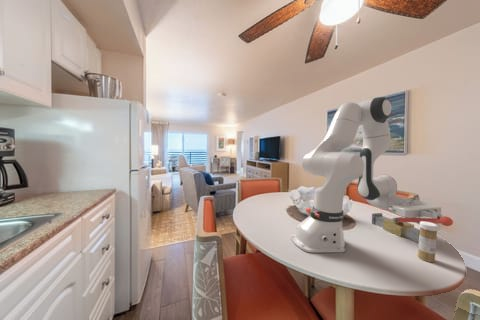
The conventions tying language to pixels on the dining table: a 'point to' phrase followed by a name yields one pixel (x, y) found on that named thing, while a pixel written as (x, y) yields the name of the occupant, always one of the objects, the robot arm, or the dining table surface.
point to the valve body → (396, 227)
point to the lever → (426, 220)
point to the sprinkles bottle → (427, 241)
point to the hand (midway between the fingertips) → (439, 216)
